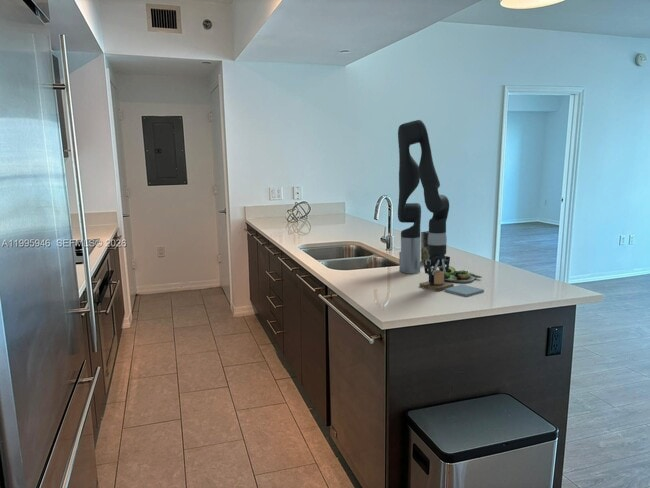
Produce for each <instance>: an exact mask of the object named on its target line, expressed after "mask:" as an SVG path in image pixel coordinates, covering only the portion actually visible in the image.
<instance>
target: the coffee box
mask: <svg viewBox="0 0 650 488" xmlns="http://www.w3.org/2000/svg"><path fill="white" fill-rule="evenodd" d="M428 235H429V230H426V231H420V263H421V262H422V263H424V260H428V259H429V257H430V255H429V254H428Z"/></svg>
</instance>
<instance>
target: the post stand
mask: <svg viewBox="0 0 650 488" xmlns="http://www.w3.org/2000/svg"><path fill="white" fill-rule="evenodd" d="M454 285H455V283H453V282H444V284H431V283H429V280H426V281H424V282H420V283H419V288H423V289H427V290H430V291H434V292H441V291H445V289H446V288H450V287H454Z"/></svg>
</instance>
